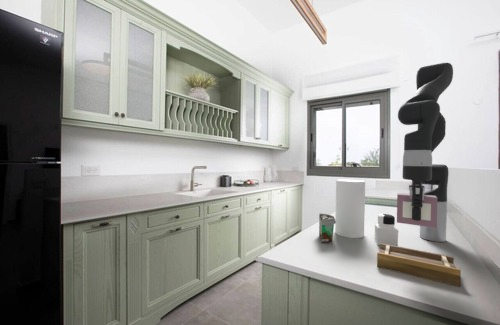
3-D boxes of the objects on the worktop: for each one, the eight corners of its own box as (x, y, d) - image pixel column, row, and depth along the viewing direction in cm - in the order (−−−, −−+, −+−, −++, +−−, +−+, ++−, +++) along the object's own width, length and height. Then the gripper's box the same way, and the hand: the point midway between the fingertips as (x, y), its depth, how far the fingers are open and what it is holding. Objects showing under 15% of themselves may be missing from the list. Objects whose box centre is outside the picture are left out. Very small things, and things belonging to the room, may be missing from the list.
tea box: (434, 224, 72) (435, 195, 72) (436, 228, 68) (437, 197, 68) (397, 219, 78) (397, 192, 78) (396, 222, 73) (397, 194, 73)
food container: (337, 245, 92) (338, 220, 92) (321, 244, 93) (322, 219, 93) (332, 235, 104) (333, 213, 104) (318, 234, 105) (319, 213, 105)
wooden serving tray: (379, 255, 83) (380, 243, 83) (452, 270, 72) (453, 256, 72) (377, 266, 74) (377, 252, 74) (460, 286, 63) (460, 270, 63)
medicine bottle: (393, 241, 98) (393, 213, 97) (398, 247, 91) (398, 217, 91) (374, 239, 100) (375, 212, 100) (377, 245, 93) (378, 215, 93)
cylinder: (360, 230, 112) (361, 179, 112) (367, 239, 100) (368, 182, 100) (333, 228, 115) (334, 179, 115) (336, 236, 103) (337, 181, 103)
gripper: (434, 165, 65) (433, 225, 65) (429, 165, 77) (428, 215, 77) (402, 164, 69) (401, 221, 69) (402, 164, 81) (401, 212, 81)
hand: (415, 218), depth 73 cm, fingers closed on tea box, 5 cm apart
